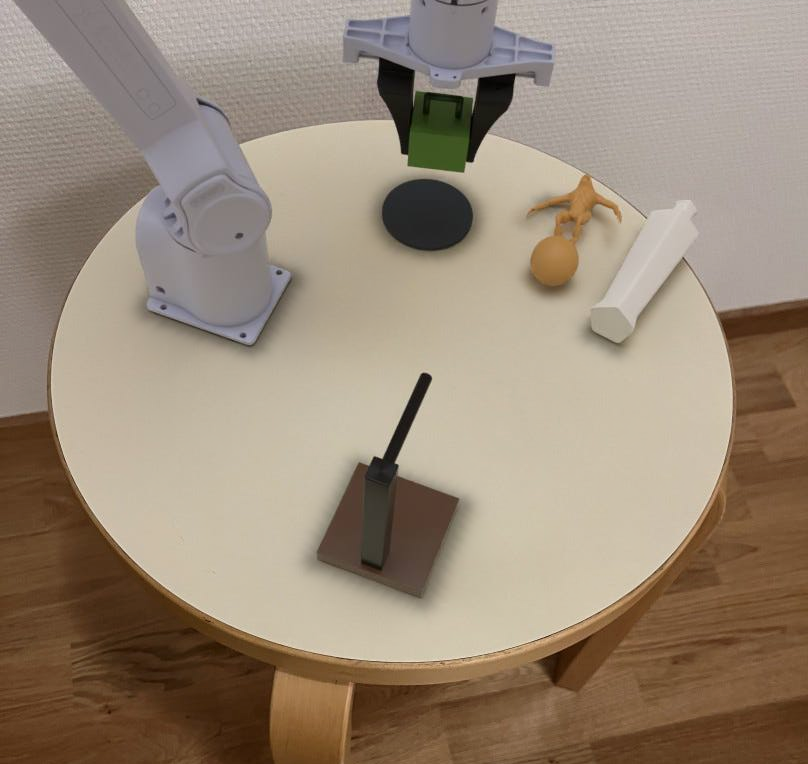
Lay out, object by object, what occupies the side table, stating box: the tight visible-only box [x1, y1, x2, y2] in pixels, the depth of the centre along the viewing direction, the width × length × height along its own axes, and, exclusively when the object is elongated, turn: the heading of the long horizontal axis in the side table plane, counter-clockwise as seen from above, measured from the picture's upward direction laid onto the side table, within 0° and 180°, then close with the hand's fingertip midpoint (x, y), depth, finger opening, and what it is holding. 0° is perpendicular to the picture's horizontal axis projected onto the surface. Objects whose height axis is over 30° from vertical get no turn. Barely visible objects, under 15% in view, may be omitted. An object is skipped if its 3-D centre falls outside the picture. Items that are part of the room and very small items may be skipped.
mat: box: [381, 178, 474, 252], centre depth 79 cm, size 8×8×1 cm
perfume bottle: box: [590, 199, 700, 344], centre depth 76 cm, size 5×4×15 cm
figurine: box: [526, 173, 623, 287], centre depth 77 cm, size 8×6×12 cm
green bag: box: [406, 90, 474, 174], centre depth 68 cm, size 4×4×5 cm
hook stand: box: [316, 372, 460, 598], centre depth 60 cm, size 8×9×14 cm
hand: (437, 149), depth 70 cm, fingers closed on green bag, 4 cm apart
